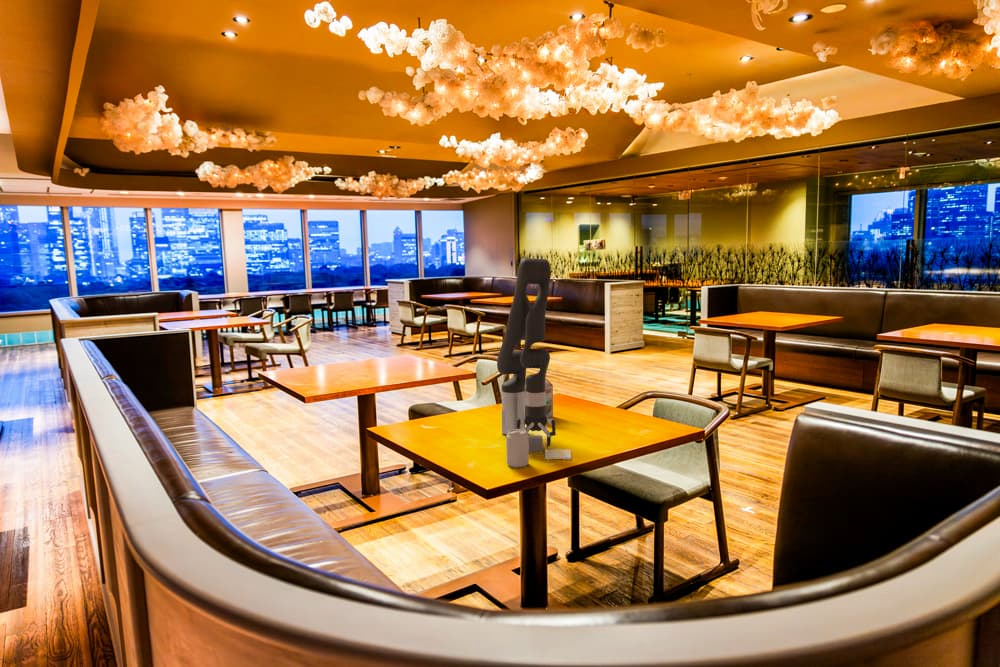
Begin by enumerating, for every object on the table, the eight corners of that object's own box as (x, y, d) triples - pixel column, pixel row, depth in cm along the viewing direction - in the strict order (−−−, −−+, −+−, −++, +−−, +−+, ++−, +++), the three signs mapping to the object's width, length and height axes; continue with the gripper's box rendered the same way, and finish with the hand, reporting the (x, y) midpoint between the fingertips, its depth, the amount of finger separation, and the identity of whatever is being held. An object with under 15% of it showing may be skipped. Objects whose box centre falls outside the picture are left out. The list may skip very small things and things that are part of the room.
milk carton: (541, 422, 275) (541, 378, 272) (520, 418, 280) (519, 376, 278) (553, 416, 284) (552, 374, 281) (532, 413, 289) (531, 371, 287)
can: (503, 467, 219) (503, 432, 217) (511, 460, 226) (510, 427, 224) (524, 469, 216) (524, 434, 215) (531, 462, 223) (531, 428, 222)
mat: (545, 459, 226) (545, 457, 226) (545, 451, 235) (545, 449, 235) (571, 459, 225) (571, 457, 225) (570, 451, 234) (570, 449, 234)
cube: (528, 452, 234) (528, 439, 233) (529, 448, 239) (528, 435, 238) (542, 452, 234) (542, 439, 233) (542, 448, 239) (542, 435, 238)
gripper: (515, 405, 231) (516, 449, 233) (555, 405, 230) (556, 449, 232) (516, 401, 238) (517, 443, 240) (555, 400, 237) (555, 443, 239)
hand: (536, 446), depth 236 cm, fingers open, 8 cm apart
